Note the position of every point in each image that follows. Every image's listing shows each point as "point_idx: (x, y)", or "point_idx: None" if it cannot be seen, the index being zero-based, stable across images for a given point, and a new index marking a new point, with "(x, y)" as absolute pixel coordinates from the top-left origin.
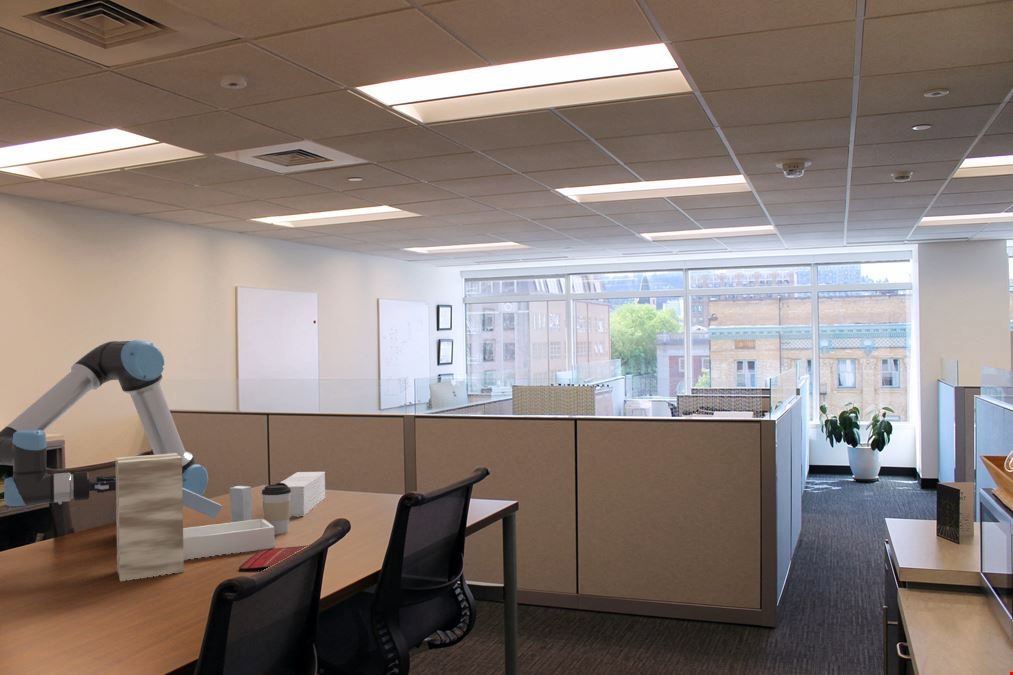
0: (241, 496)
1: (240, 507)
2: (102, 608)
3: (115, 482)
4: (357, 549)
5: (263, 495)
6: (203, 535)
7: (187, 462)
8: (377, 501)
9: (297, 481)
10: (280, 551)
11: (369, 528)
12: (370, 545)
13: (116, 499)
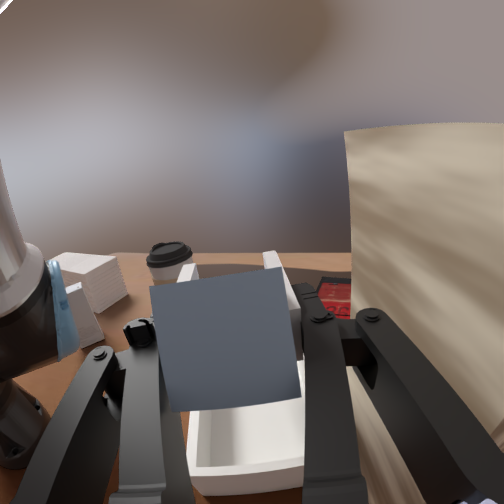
0: (85, 300)
1: (89, 318)
2: None
3: (472, 425)
4: (331, 261)
5: (169, 268)
6: (304, 361)
7: (43, 258)
8: (127, 257)
9: (83, 261)
10: (340, 300)
11: (238, 258)
12: (318, 256)
13: (495, 438)
